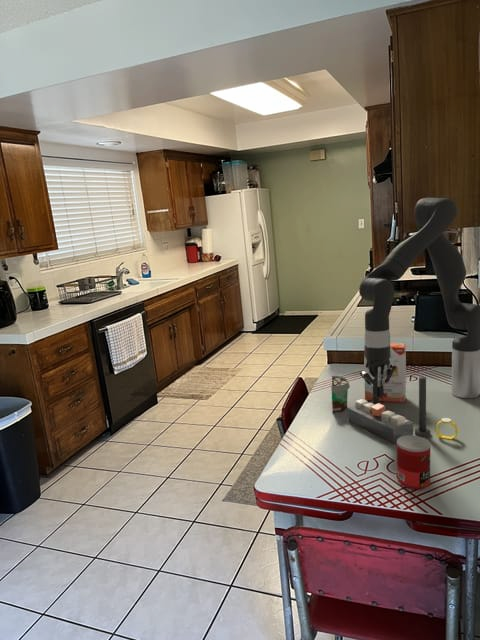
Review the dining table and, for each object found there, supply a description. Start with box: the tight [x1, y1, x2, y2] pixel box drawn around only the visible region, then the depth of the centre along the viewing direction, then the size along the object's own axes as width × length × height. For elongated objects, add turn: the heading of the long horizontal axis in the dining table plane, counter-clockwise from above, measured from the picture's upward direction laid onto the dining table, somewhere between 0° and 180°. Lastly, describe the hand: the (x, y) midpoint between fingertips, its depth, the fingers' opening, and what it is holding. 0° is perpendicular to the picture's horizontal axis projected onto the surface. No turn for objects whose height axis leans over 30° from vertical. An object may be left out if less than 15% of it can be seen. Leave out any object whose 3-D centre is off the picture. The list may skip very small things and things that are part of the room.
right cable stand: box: [414, 376, 431, 438], centre depth 145 cm, size 4×4×18 cm
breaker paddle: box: [371, 402, 386, 417], centre depth 150 cm, size 3×3×2 cm
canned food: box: [396, 435, 431, 491], centre depth 121 cm, size 8×8×11 cm
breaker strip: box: [347, 398, 414, 446], centre depth 151 cm, size 8×20×7 cm, turn 28°
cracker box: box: [363, 342, 407, 404], centre depth 173 cm, size 14×6×21 cm, turn 68°
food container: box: [330, 375, 351, 414], centre depth 170 cm, size 12×6×10 cm, turn 168°
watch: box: [434, 417, 459, 440], centre depth 142 cm, size 6×3×6 cm, turn 59°
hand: (378, 396), depth 149 cm, fingers closed
